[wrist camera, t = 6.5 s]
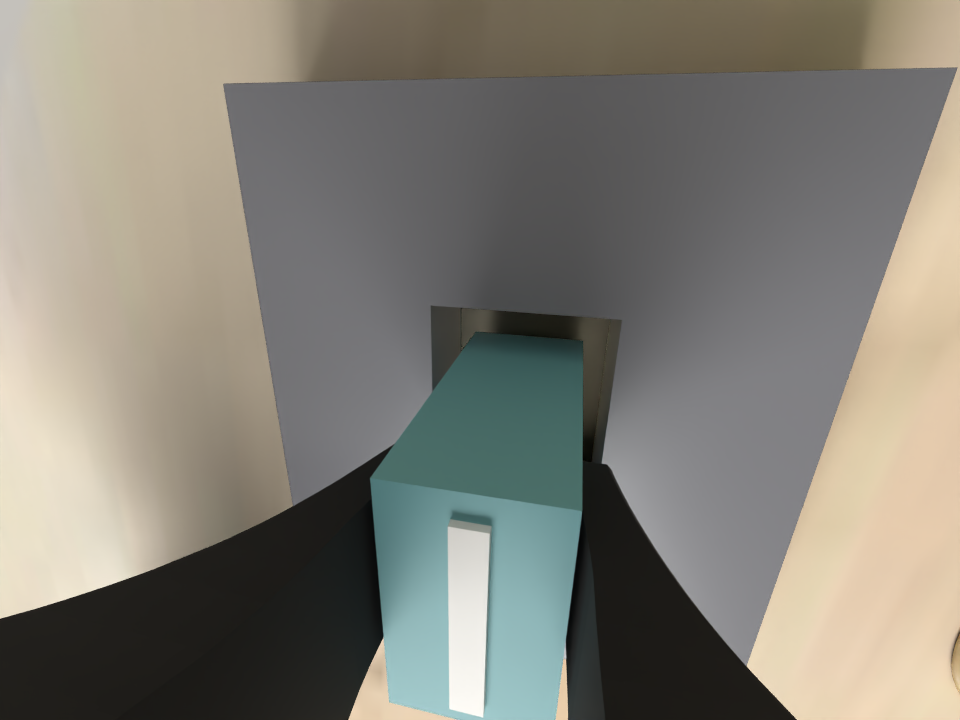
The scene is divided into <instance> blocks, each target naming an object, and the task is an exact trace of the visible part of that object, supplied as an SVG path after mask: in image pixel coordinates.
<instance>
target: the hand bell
mask: <svg viewBox="0 0 960 720" xmlns="http://www.w3.org/2000/svg"><path fill="white" fill-rule="evenodd" d="M951 667H952V676H953V679H954V682H955V685H956V687H957V690H958V692H959V693H960V634H959V636H958V639H957V641H956V644H955V648H954V652H953V655H952V663H951Z"/></svg>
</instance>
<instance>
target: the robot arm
mask: <svg viewBox="0 0 960 720" xmlns="http://www.w3.org/2000/svg"><path fill="white" fill-rule="evenodd" d="M393 446H394V444H393V445H392V446H390V447H389V448H387V449H386V450H384V451H383V452H381V453H379V454H378V455H376V456H375V457H373V458H372V459H370V460H369V461H367V462H366V463H364V464H363V465H361V466H359V467H358V468H356V469H355V470H353V471H352V472H350V473H348V474H347V475H345V476H344V477H342V478H340V479H339V480H337V481H336V482H334V483H332V484H331V485H329V486H327V487H326V488H324V489H322V490H320V491H319V492H317V493H315V494H313V495H312V496H310V497H308V498H306V499H305V500H303V501H301V502H299V503H298V504H296V505H294V506H293V507H291V508H289V509H287V510H285V511H284V512H282V513H280V514H278V515H276V516H274V517H272V518H270V519H268V520H266V521H264V522H262V523H260V524H258V525H256V526H254V527H252V528H250V529H248V530H246V531H243V532H241V533H239V534H237V535H235V536H233V537H231V538H229V539H226V540H224V541H222V542H220V543H217V544H215V545H213V546H210V547H208V548H205V549H203V550H200V551H198V552H195V553H193V554H191V555H188V556H186V557H183V558H181V559H178V560H176V561H173V562H171V563H168V564H166V565H163V566H161V567H158V568H156V569H154V570H151V571H148V572H145V573H143V574H140V575H137V576H134V577H131V578H129V579H126V580H123V581H120V582H117V583H115V584H112V585H109V586H106V587H103V588H100V589H97V590H94V591H91V592H88V593H85V594H82V595H79V596H76V597H72V598H69V599H66V600H63V601H60V602H57V603H53V604H50V605H47V606H44V607H40V608H37V609H34V610H30V611H27V612H23V613H19V614H16V615H12V616H9V617H5V618H2V619H0V720H348V719H349V716H350V714H351V711H352V708H353V706H354V703H355V700H356V697H357V695H358V692H359V690H360V687H361V685H362V683H363V680H364V678H365V676H366V673H367V671H368V669H369V666H370V664H371V662H372V660H373V658H374V656H375V654H376V651H377V649H378V647H379V645H380V643H381V641H382V639H383V637H384V635H383V623H382V611H381V600H380V588H379V576H378V565H377V553H376V542H375V530H374V518H373V507H372V495H371V483H370V478H371V476H372V475H373V473H374V472H375V471H376V469H377V468H378V467H379V465H380V464H381V462H382V461H383V460H384V458H385V457H386V455H387V454H388V453H389V451H390V450H391V449H392V447H393ZM566 665H567V691H568V720H796V718H795V717H794V716H793V715H792V714H791V713H790V712H789V711H788V710H787V709H786V708H785V707H784V706H783V705H782V704H781V703H780V702H779V701H778V700H777V698H776V697H775V696H774V695H773V694H772V693H771V692H770V691H769V690H768V689H767V688H766V687H765V686H764V685H763V684H762V683H761V682H760V681H759V680H758V678H757V677H756V676H755V675H754V674H753V673H752V672H751V671H750V670H749V669H748V668H747V666H746V665H745V664H744V663H743V662H742V661H741V660H740V658H739V657H738V656H737V655H736V654H735V653H734V651H733V650H732V649H731V648H730V647H729V646H728V645H727V643H726V642H725V641H724V640H723V639H722V637H721V636H720V635H719V634H718V633H717V631H716V630H715V629H714V628H713V626H712V625H711V624H710V623H709V622H708V620H707V619H706V618H705V617H704V615H703V614H702V613H701V612H700V610H699V609H698V608H697V606H696V605H695V604H694V603H693V601H692V600H691V599H690V597H689V596H688V595H687V593H686V592H685V590H684V589H683V588H682V586H681V585H680V584H679V582H678V581H677V579H676V578H675V577H674V575H673V574H672V572H671V571H670V570H669V568H668V567H667V565H666V564H665V562H664V561H663V559H662V558H661V556H660V555H659V553H658V552H657V550H656V549H655V547H654V546H653V544H652V543H651V541H650V539H649V538H648V536H647V534H646V533H645V531H644V530H643V528H642V526H641V525H640V523H639V522H638V520H637V518H636V516H635V515H634V513H633V511H632V510H631V508H630V506H629V504H628V502H627V500H626V499H625V497H624V495H623V493H622V491H621V489H620V487H619V485H618V483H617V481H616V479H615V477H614V474H613V472H612V470H611V469H610V467H609V466H608V465H607V464H601V463H594V462H587V461H583V470H582V517H581V525H580V533H579V541H578V548H577V556H576V564H575V572H574V579H573V587H572V595H571V603H570V610H569V618H568V626H567V634H566Z"/></svg>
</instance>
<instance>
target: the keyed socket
mask: <svg viewBox="0 0 960 720" xmlns="http://www.w3.org/2000/svg"><path fill="white" fill-rule="evenodd" d="M957 68H958V67H957ZM957 68H912V69H867V70H822V71H776V72H731V73H686V74H640V75H595V76H550V77H504V78H459V79H414V80H368V81H323V82H278V83H232V84H223V86H224V92H225V98H226V104H227V110H228V116H229V122H230V128H231V134H232V140H233V146H234V152H235V158H236V164H237V170H238V176H239V182H240V188H241V194H242V200H243V206H244V212H245V218H246V225H247V231H248V237H249V243H250V249H251V255H252V261H253V267H254V273H255V279H256V285H257V291H258V297H259V303H260V309H261V315H262V321H263V327H264V333H265V339H266V345H267V351H268V357H269V363H270V369H271V375H272V381H273V388H274V394H275V400H276V406H277V412H278V418H279V424H280V430H281V436H282V442H283V448H284V454H285V460H286V466H287V472H288V478H289V484H290V490H291V496H292V502H293V506H294V505H296V504H298V503H299V502H301V501H303V500H305V499H306V498H308V497H310V496H312V495H313V494H315V493H317V492H319V491H320V490H322V489H324V488H326V487H327V486H329V485H331V484H332V483H334V482H336V481H337V480H339V479H340V478H342V477H344V476H345V475H347V474H348V473H350V472H352V471H353V470H355V469H356V468H358V467H359V466H361V465H363V464H364V463H366V462H367V461H369V460H370V459H372V458H373V457H375V456H376V455H378V454H379V453H381V452H383V451H384V450H386V449H387V448H389V447H390V446H392V445H393V444H395V443H396V442H397V440H398V439H399V437H400V436H401V435H402V433H403V432H404V431H405V429H406V428H407V426H408V425H409V424H410V422H411V421H412V419H413V418H414V417H415V415H416V414H417V412H418V411H419V410H420V408H421V407H422V406H423V404H424V403H425V401H426V400H427V399H428V397H429V396H430V394H431V393H432V392H433V390H434V389H435V388H436V386H437V385H438V383H439V382H440V381H441V379H442V378H443V376H444V375H445V374H446V372H447V371H448V370H449V368H450V367H451V365H452V364H453V363H454V361H455V360H456V358H457V357H458V356H459V354H460V353H461V308H471V309H484V310H498V311H511V312H524V313H537V314H550V315H563V316H577V317H590V318H603V319H610V324H609V331H608V339H607V347H606V354H605V362H604V369H603V377H602V385H601V392H600V400H599V407H598V415H597V423H596V430H595V438H594V445H593V453H592V461H591V462H594V463H601V464H607V465H608V466H609V467H610V469H611V470H612V472H613V474H614V477H615V479H616V481H617V483H618V485H619V487H620V489H621V491H622V493H623V495H624V497H625V499H626V500H627V502H628V504H629V506H630V508H631V510H632V511H633V513H634V515H635V516H636V518H637V520H638V522H639V523H640V525H641V526H642V528H643V530H644V531H645V533H646V534H647V536H648V538H649V539H650V541H651V543H652V544H653V546H654V547H655V549H656V550H657V552H658V553H659V555H660V556H661V558H662V559H663V561H664V562H665V564H666V565H667V567H668V568H669V570H670V571H671V572H672V574H673V575H674V577H675V578H676V579H677V581H678V582H679V584H680V585H681V586H682V588H683V589H684V590H685V592H686V593H687V595H688V596H689V597H690V599H691V600H692V601H693V603H694V604H695V605H696V606H697V608H698V609H699V610H700V612H701V613H702V614H703V615H704V617H705V618H706V619H707V620H708V622H709V623H710V624H711V625H712V626H713V628H714V629H715V630H716V631H717V633H718V634H719V635H720V636H721V637H722V639H723V640H724V641H725V642H726V643H727V645H728V646H729V647H730V648H731V649H732V650H733V651H734V653H735V654H736V655H737V656H738V657H739V658H740V660H741V661H742V662H743V663H744V664H745V665H746V666H747V663H748V660H749V657H750V654H751V652H752V649H753V646H754V643H755V640H756V637H757V635H758V632H759V629H760V626H761V623H762V620H763V618H764V615H765V612H766V609H767V606H768V603H769V601H770V598H771V595H772V592H773V589H774V586H775V584H776V581H777V578H778V575H779V572H780V569H781V567H782V564H783V561H784V558H785V555H786V552H787V550H788V547H789V544H790V541H791V538H792V535H793V533H794V530H795V527H796V524H797V521H798V518H799V516H800V513H801V510H802V507H803V504H804V501H805V499H806V496H807V493H808V490H809V487H810V484H811V482H812V479H813V476H814V473H815V470H816V467H817V465H818V462H819V459H820V456H821V453H822V450H823V448H824V445H825V442H826V439H827V436H828V433H829V431H830V428H831V425H832V422H833V419H834V416H835V413H836V411H837V408H838V405H839V402H840V399H841V396H842V394H843V391H844V388H845V385H846V382H847V379H848V377H849V374H850V371H851V368H852V365H853V362H854V360H855V357H856V354H857V351H858V348H859V345H860V343H861V340H862V337H863V334H864V331H865V328H866V326H867V323H868V320H869V317H870V314H871V311H872V309H873V306H874V303H875V300H876V297H877V294H878V292H879V289H880V286H881V283H882V280H883V277H884V275H885V272H886V269H887V266H888V263H889V260H890V258H891V255H892V252H893V249H894V246H895V243H896V241H897V238H898V235H899V232H900V229H901V226H902V224H903V221H904V218H905V215H906V212H907V209H908V207H909V204H910V201H911V198H912V195H913V192H914V190H915V187H916V184H917V181H918V178H919V175H920V173H921V170H922V167H923V164H924V161H925V158H926V155H927V153H928V150H929V147H930V144H931V141H932V138H933V136H934V133H935V130H936V127H937V124H938V121H939V119H940V116H941V113H942V110H943V107H944V104H945V102H946V99H947V96H948V93H949V90H950V87H951V85H952V82H953V79H954V76H955V73H956V70H957ZM563 659H566V641H565V649H564V657H563Z"/></svg>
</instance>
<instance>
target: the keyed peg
mask: <svg viewBox="0 0 960 720" xmlns="http://www.w3.org/2000/svg"><path fill="white" fill-rule="evenodd" d="M582 470H583V341H580V340H568V339H557V338H545V337H533V336H522V335H510V334H498V333H487V332H475V334H474V335H473V336H472V338H471V339H470V340H469V342H468V343H467V345H466V346H465V347H464V349H463V350H462V352H461V353H460V354H459V356H458V357H457V358H456V360H455V361H454V363H453V364H452V365H451V367H450V368H449V370H448V371H447V372H446V374H445V375H444V376H443V378H442V379H441V381H440V382H439V383H438V385H437V386H436V388H435V389H434V390H433V392H432V393H431V394H430V396H429V397H428V399H427V400H426V401H425V403H424V404H423V406H422V407H421V408H420V410H419V411H418V412H417V414H416V415H415V417H414V418H413V419H412V421H411V422H410V424H409V425H408V426H407V428H406V429H405V431H404V432H403V433H402V435H401V436H400V437H399V439H398V440H397V442H396V443H395V444H394V446H393V447H392V449H391V450H390V451H389V453H388V454H387V455H386V457H385V458H384V460H383V461H382V462H381V464H380V465H379V467H378V468H377V469H376V471H375V472H374V473H373V475H372V476H371V478H370V483H371V495H372V507H373V518H374V530H375V542H376V553H377V565H378V576H379V588H380V600H381V611H382V623H383V635H384V646H385V658H386V670H387V681H388V693H389V702H390V703H394V704H398V705H402V706H406V707H410V708H414V709H418V710H422V711H426V712H430V713H434V714H438V715H442V716H446V717H449V718H453V719H457V720H555V719H556V711H557V703H558V696H559V688H560V680H561V672H562V665H563V657H564V649H565V641H566V634H567V626H568V618H569V610H570V603H571V595H572V587H573V579H574V572H575V564H576V556H577V548H578V541H579V533H580V525H581V517H582Z"/></svg>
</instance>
